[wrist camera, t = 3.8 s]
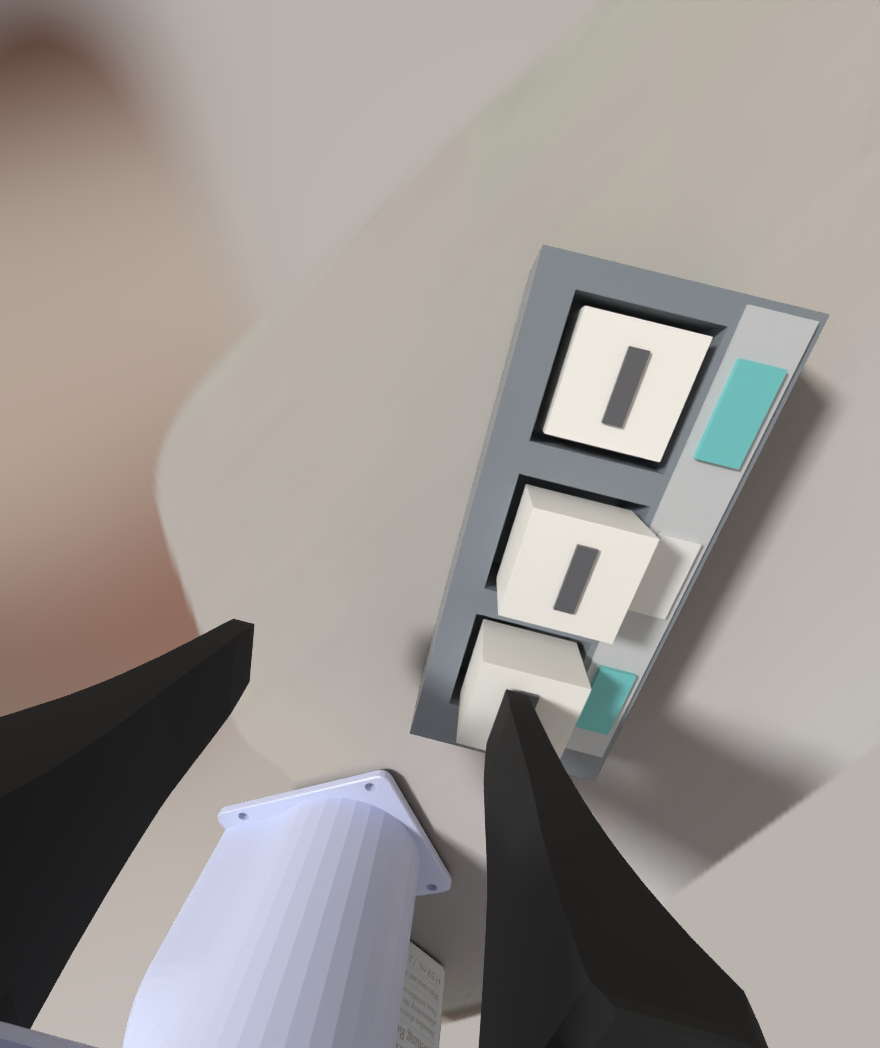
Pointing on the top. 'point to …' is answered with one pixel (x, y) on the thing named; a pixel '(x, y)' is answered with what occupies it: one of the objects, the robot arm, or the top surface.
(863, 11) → the top surface
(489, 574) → the console
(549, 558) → the button middle
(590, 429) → the button
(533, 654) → the button
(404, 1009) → the skincare box
